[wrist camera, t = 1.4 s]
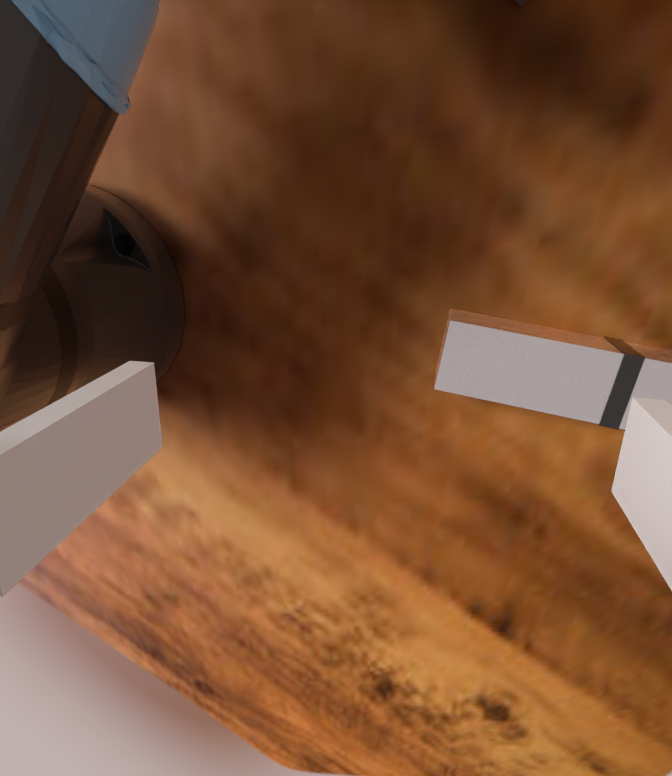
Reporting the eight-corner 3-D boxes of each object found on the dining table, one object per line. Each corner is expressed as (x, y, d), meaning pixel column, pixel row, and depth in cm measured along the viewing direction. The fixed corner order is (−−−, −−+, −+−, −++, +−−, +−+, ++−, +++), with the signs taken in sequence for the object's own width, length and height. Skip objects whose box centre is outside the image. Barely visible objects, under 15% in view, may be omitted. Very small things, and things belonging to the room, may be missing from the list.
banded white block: (435, 370, 34) (433, 390, 30) (450, 306, 32) (450, 319, 28) (703, 425, 32) (737, 454, 28) (731, 360, 30) (772, 381, 26)
